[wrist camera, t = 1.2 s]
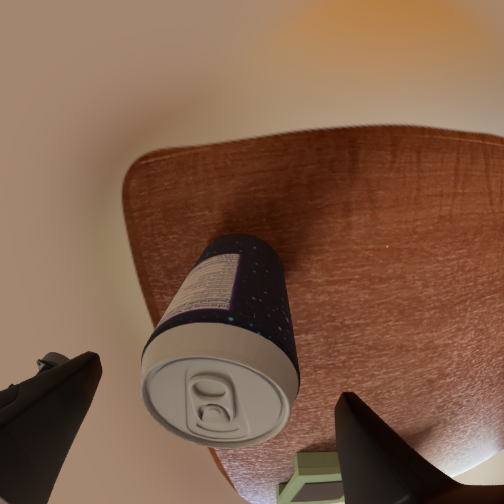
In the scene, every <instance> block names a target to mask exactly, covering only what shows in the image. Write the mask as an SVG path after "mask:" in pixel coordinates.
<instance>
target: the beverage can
mask: <svg viewBox="0 0 504 504" xmlns="http://www.w3.org/2000/svg"><path fill="white" fill-rule="evenodd" d="M141 368H142V375H143V376H142V379H141V383H140V395H141V400H142V402H143V404H144V407H145V408H146V410H147V411H148V413H149V414H150V415H151V417H152V418H153V419H154V420H155V421H156V422H157V423H158V424H159V425H160V426H162V427H163V428H165V429H166V430H167V431H169V432H170V433H172V434H174V435H176V436H178V437H179V438H182V439H184V440H186V441H189V442H192V443H195V444H198V445H202V446H206V447H213V448H223V449H234V448H244V447H249V446H253V445H257V444H260V443H263V442H265V441H267V440H269V439H271V438H273V437H274V436H275V435H277V434H278V433H279V432H280V431H281V430H282V429H283V428H284V427H285V425H286V424H287V422H288V420H289V418H290V414H291V405H292V404H293V402H294V400H295V399H296V397H297V394H298V391H299V387H300V372H299V365H298V359H297V352H296V345H295V339H294V333H293V326H292V320H291V314H290V308H289V302H288V296H287V290H286V284H285V278H284V272H283V267H282V263H281V261H280V259H279V257H278V255H277V253H276V252H275V251H274V250H273V248H272V247H271V246H269V245H268V244H267V243H266V242H264V241H263V240H261V239H259V238H256V237H254V236H250V235H246V234H232V235H227V236H224V237H221V238H219V239H217V240H215V241H214V242H212V243H211V244H210V245H209V246H208V247H207V248H206V249H205V250H204V251H203V253H202V254H201V256H200V257H199V259H198V261H197V262H196V264H195V265H194V267H193V268H192V270H191V272H190V273H189V275H188V276H187V278H186V279H185V281H184V283H183V284H182V286H181V287H180V289H179V291H178V292H177V294H176V295H175V297H174V299H173V300H172V302H171V304H170V305H169V307H168V308H167V310H166V312H165V313H164V315H163V317H162V318H161V320H160V322H159V323H158V325H157V327H156V328H155V330H154V332H153V334H152V335H151V337H150V339H149V340H148V342H147V344H146V346H145V348H144V350H143V353H142V359H141Z"/></svg>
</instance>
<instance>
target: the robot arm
mask: <svg viewBox="0 0 504 504" xmlns="http://www.w3.org/2000/svg"><path fill="white" fill-rule="evenodd" d="M37 364H38V367H39V370H40V371H39V372H38V373H37V374H36V376H34V377H32V378H30V379H28V380H25V381H23V382H21V383H20V384H17V385H13V384H11V385H10V386H9V387H8V388H7V389H5V390H2V391H0V504H47V503H48V500H49V497H50V495H51V492H52V490H53V487H54V484H55V482H56V479H57V477H58V475H59V472H60V470H61V467H62V465H63V463H64V461H65V458H66V456H67V454H68V451H69V449H70V447H71V445H72V443H73V441H74V438H75V436H76V434H77V432H78V430H79V428H80V426H81V424H82V422H83V420H84V417H85V416H86V414H87V411H88V410H89V407H90V405H91V403H92V400H93V397H94V395H95V392H96V389H97V387H98V384H99V381H100V379H101V376H102V366H101V362H100V358H99V355H98V354H97V353H94V352H90V351H88V352H86V353H84V354H81V355H79V356H77V357H75V358H73V359H71V360H69V361H67V362H64V363H62V364H60V365H58V366H56V367H55V366H53V365H51V364H49V363H47V362H44V361H42V360H40V359H39V360H38V361H37ZM334 412H335V431H336V447H337V453H338V459H339V465H340V472H341V478H342V485H343V491H344V499H345V504H504V485H487V486H486V485H484V486H483V485H464V484H461V483H459V482H457V481H455V480H453V479H452V478H450V477H449V476H447V475H446V474H445V473H443V472H442V471H440V470H439V469H437V468H436V467H435V466H433V465H432V464H431V463H429V462H428V461H427V460H426V459H424V458H423V457H422V456H421V455H420V454H419V453H417V452H416V451H415V450H414V449H413V448H412V447H411V448H410V445H409V444H408V443H407V442H405V441H404V440H403V439H402V438H401V437H400V436H399V435H398V434H397V433H396V432H395V431H394V430H393V429H392V428H391V427H389V426H388V425H387V424H386V423H385V422H384V421H383V420H382V419H381V418H380V417H379V416H378V415H377V414H376V413H375V412H374V411H373V410H372V409H371V408H370V407H369V406H368V405H366V404H365V403H364V402H363V401H362V400H361V399H360V398H359V397H358V396H357V395H356V394H355V393H354V392H343V393H342V394H341V396H340V398H339V400H338V402H337V404H336V406H335V411H334Z"/></svg>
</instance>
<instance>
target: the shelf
mask: <svg viewBox="0 0 504 504" xmlns="http://www.w3.org/2000/svg"><path fill="white" fill-rule="evenodd" d="M408 444H409V442H408ZM409 445H410V444H409ZM410 448H411V447H410ZM294 472H295V473H294V475H293V476H292V478H291V479H290V481H289V482H288V484H278V486H277V487H276V494H277V504H328V503H338V502H345V499H344V491H343V485H342V478H341V472H340V465H339V459H338V453H337V451H335V452H297V453H296V455H295V456H294Z"/></svg>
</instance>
